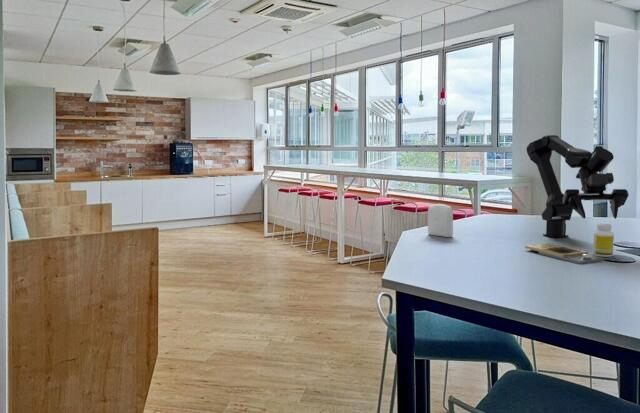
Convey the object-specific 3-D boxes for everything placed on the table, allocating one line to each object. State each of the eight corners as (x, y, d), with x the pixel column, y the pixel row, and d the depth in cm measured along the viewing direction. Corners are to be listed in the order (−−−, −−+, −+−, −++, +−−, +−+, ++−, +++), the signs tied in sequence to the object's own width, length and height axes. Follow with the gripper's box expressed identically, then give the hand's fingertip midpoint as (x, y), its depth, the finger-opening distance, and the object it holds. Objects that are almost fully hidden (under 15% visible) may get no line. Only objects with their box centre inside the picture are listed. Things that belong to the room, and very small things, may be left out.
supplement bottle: (616, 257, 163) (617, 225, 162) (598, 257, 163) (599, 226, 162) (607, 253, 169) (608, 223, 167) (589, 253, 169) (591, 223, 168)
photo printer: (426, 234, 208) (426, 203, 207) (433, 233, 211) (433, 202, 209) (447, 238, 200) (447, 205, 199) (454, 236, 203) (454, 204, 201)
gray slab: (604, 260, 159) (604, 254, 159) (579, 264, 155) (579, 257, 155) (548, 247, 179) (548, 241, 179) (525, 250, 175) (525, 244, 175)
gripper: (566, 164, 174) (574, 201, 164) (627, 164, 171) (640, 201, 161) (558, 186, 182) (566, 223, 173) (617, 186, 179) (628, 223, 170)
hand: (600, 217), depth 169 cm, fingers open, 9 cm apart
